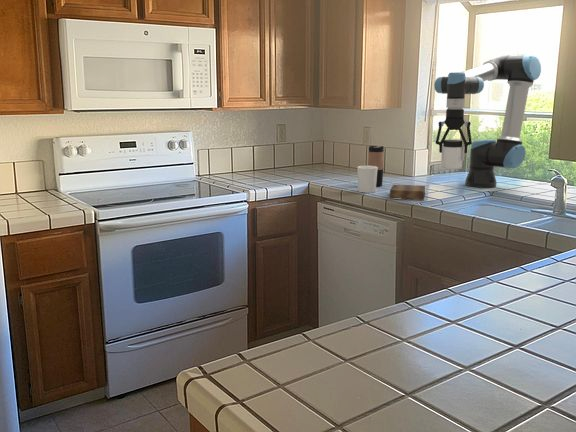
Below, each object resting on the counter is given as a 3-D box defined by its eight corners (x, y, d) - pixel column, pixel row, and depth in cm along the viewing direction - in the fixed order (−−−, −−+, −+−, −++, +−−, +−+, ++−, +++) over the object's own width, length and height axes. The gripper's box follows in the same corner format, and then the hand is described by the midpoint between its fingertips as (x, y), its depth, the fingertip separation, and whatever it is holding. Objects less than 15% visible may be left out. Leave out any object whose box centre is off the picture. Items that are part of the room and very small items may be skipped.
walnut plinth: (424, 194, 281) (425, 185, 280) (423, 200, 266) (423, 191, 266) (392, 192, 284) (393, 184, 283) (389, 198, 270) (390, 190, 269)
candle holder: (375, 189, 293) (375, 165, 290) (378, 193, 283) (379, 168, 281) (355, 189, 293) (355, 165, 290) (358, 193, 283) (358, 168, 280)
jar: (454, 169, 260) (455, 142, 257) (438, 167, 266) (439, 140, 263) (464, 167, 266) (466, 140, 263) (448, 165, 272) (450, 139, 269)
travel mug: (371, 187, 299) (372, 147, 294) (365, 184, 306) (366, 146, 302) (385, 186, 301) (386, 147, 296) (379, 184, 308) (380, 145, 304)
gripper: (430, 109, 259) (428, 160, 264) (480, 109, 253) (477, 161, 259) (430, 108, 266) (428, 158, 271) (479, 108, 260) (476, 159, 266)
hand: (452, 160), depth 265 cm, fingers closed on jar, 8 cm apart
